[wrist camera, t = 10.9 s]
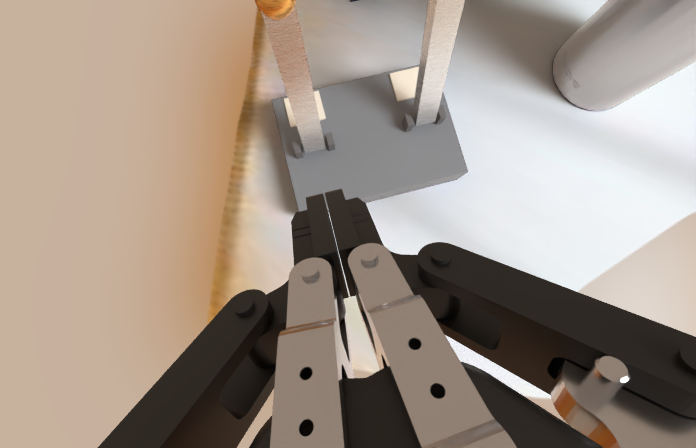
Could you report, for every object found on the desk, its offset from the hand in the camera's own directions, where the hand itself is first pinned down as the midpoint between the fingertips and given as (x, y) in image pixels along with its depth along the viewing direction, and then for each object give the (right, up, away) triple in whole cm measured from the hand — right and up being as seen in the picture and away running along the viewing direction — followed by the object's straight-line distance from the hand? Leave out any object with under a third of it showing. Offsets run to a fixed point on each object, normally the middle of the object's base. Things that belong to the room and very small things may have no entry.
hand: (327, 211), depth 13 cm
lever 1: (-2, +7, +17) cm, 18 cm away
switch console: (+3, +8, +21) cm, 22 cm away
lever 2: (+8, +10, +17) cm, 22 cm away
